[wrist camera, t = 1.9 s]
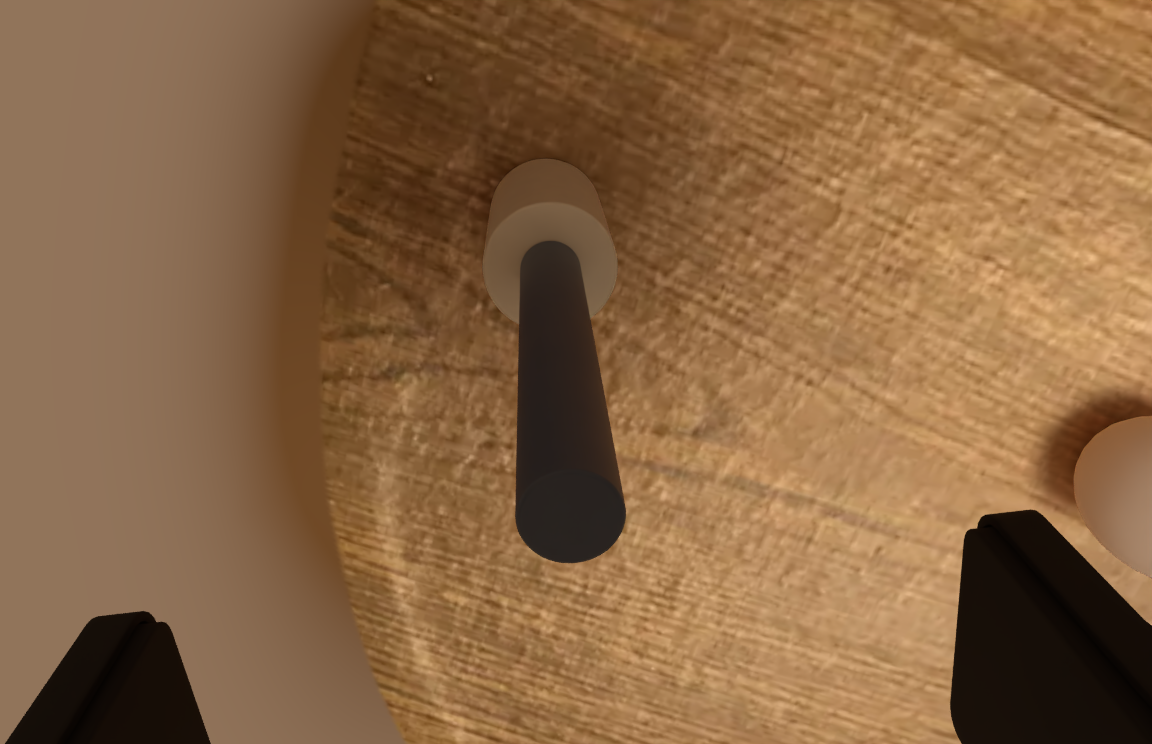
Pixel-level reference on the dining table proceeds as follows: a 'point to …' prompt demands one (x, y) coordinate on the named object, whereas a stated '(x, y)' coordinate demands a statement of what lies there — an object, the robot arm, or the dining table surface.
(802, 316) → the dining table surface
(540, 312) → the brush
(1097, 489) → the egg
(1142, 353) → the dining table surface
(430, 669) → the dining table surface
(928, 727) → the dining table surface
